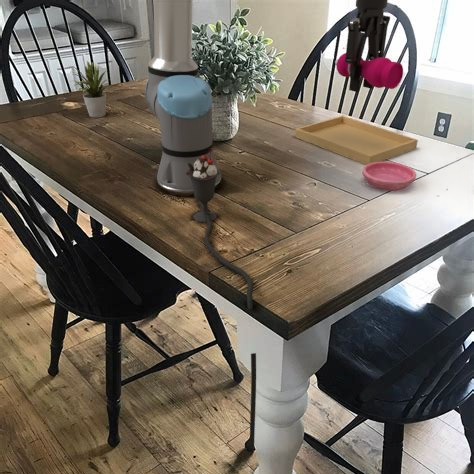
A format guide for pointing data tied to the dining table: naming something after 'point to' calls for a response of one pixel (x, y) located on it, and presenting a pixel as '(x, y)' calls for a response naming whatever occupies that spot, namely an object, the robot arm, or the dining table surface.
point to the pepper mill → (374, 71)
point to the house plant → (93, 91)
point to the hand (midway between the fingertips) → (360, 88)
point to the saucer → (389, 175)
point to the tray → (356, 139)
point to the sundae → (203, 184)
